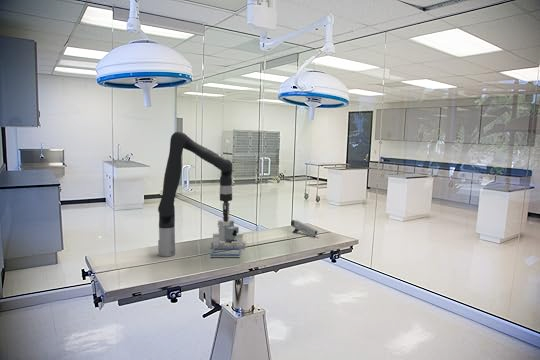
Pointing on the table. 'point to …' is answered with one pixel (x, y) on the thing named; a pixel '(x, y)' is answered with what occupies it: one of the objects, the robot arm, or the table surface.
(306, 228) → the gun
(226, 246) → the fuse holder
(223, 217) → the block
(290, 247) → the table surface
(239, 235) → the right fuse
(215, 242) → the left fuse
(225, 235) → the circuit breaker
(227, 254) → the tray
